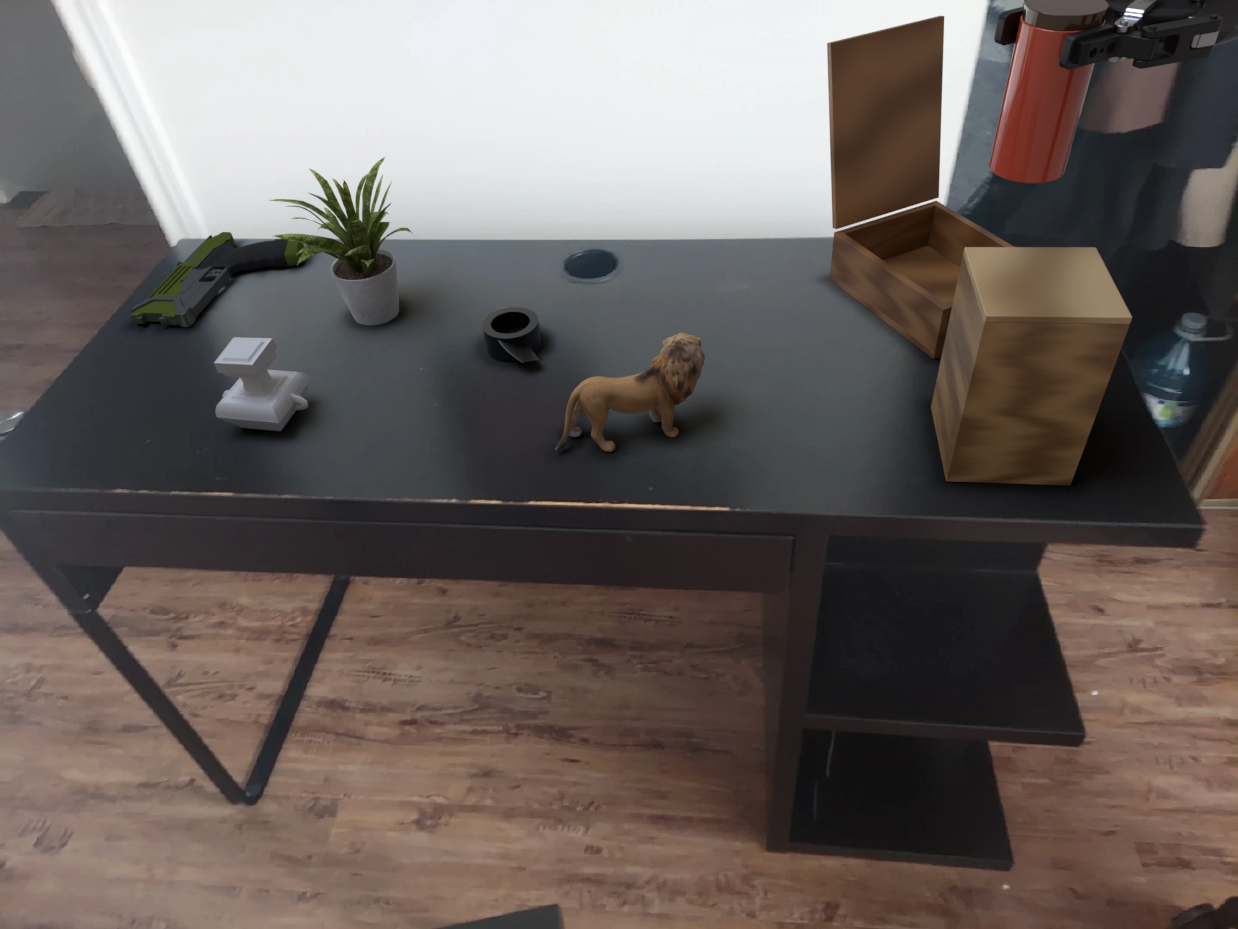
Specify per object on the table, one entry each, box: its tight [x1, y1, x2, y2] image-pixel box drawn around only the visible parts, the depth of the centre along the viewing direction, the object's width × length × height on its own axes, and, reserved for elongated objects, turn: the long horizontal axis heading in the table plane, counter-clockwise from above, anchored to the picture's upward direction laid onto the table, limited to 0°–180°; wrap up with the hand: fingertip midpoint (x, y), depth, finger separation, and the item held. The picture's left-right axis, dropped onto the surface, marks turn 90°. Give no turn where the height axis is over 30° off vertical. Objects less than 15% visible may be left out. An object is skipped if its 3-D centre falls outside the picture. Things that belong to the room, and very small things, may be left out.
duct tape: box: [481, 305, 543, 364], centre depth 96 cm, size 8×10×3 cm
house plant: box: [269, 156, 414, 326], centre depth 99 cm, size 14×14×16 cm
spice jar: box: [988, 0, 1109, 184], centre depth 68 cm, size 6×6×12 cm
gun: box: [130, 231, 306, 328], centre depth 109 cm, size 2×19×15 cm
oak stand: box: [930, 254, 1131, 486], centre depth 75 cm, size 10×10×16 cm
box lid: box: [826, 15, 945, 230], centre depth 97 cm, size 18×14×4 cm
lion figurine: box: [554, 332, 706, 453], centre depth 82 cm, size 15×5×9 cm, turn 112°
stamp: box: [213, 336, 311, 432], centre depth 87 cm, size 9×7×8 cm
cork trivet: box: [964, 246, 1133, 324], centre depth 70 cm, size 10×10×1 cm
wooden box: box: [829, 200, 1015, 360], centre depth 96 cm, size 18×14×6 cm
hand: (1031, 40), depth 65 cm, fingers closed on spice jar, 5 cm apart
